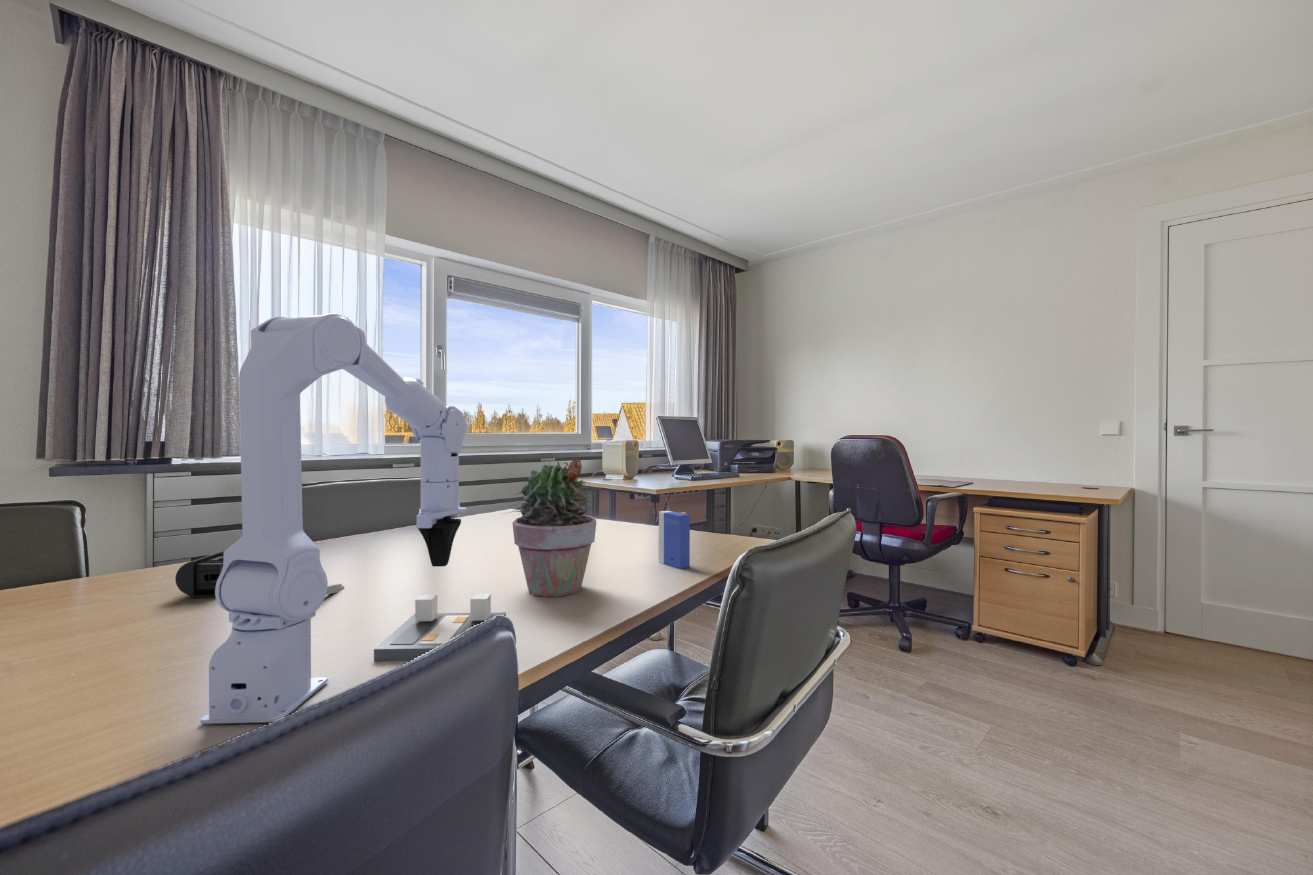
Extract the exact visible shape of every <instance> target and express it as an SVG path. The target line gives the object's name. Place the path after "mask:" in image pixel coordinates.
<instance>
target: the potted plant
mask: <svg viewBox="0 0 1313 875" xmlns="http://www.w3.org/2000/svg"><path fill="white" fill-rule="evenodd" d="M564 464H565V466H564V467H562V466H561V464H560V462H559V461H557V465H550V464H549V465H547V464H544V465H542V467H541V470H539V471H537V470H534V469H532V470H531V472H530V476H529V477H528V479H527V484H526V485H525V486H523V488H522V489H521V490H520V491H519V492H518V493H515V494H513V495H512V497H514V496H516V495H519V494H521V495H523V496H524V497H523V499H524V500H521V501H519V502H518V503H515V504H513V505H512V506H510V508H511V507H514V506H517V505H518V504H520V503H521V504H520V507H518V508H516V509H514V510H512V511H510V512H507V514H509V513H510V514H511V513H512V512H513V513H514V512H515V513H519V514H518V515H517V516H519V515H520V514H521V516H519V517H517V518H515V519H514V520H513V521H512V522H511V523H512V531H513V541H514V545H516V546H517V548H518V552H519V555H520V559H521V563H522V568H523V573H524V577H525V578H524V579H525V582H526V585H527V589H528V592H529V594H532V595H533V596H535V597H536V596H537V597H542V598H556V597H557V598H558V597H559V598H560V597H565V596H571V595H574V594H576V593H579V592H580V590H581V589H582V587H583V586H582V585H583V582H584V578H585V573H586V569H587V564H588V561H589V560H588V559H589V555H590V551H591V547H592V544H593V543H595V539H596V532H597V531H596V529H597V518H595V517H594V516H591V515H588V513H587V512H588V510H591V509H592V508H591V507H590V508H589V506H588V505H587V507H586V506H583V505H584V504H585V503H586V502H589V503H591V501H589V500H587V499H590V496H587V495H586V491H584V490H585V489H591V487H589V486H586V481H584V480H583V479H581V480H578V479H579V478H580V476H579V475H580V474H581V473H582V461H581V460H580V459H577V458H575V459H573V460H572V461H571V462H568V461H565V462H563V463H562V465H564ZM594 489H595V490H597V489H598V488H596V487H594ZM602 490H605V489H602ZM592 499H594V498H592ZM502 514H504V515H505V512H504V513H502Z"/></svg>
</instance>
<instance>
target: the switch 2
mask: <svg viewBox="0 0 1313 875" xmlns="http://www.w3.org/2000/svg"><path fill="white" fill-rule="evenodd" d="M491 599H492V594H491V593H485V594H484V593H475V594H474V595H472V596H471V598H470V600H469V602H470V603H469V604H470V606H469V607H470V612H469V613H470V621H477V620H487V619H488V618H489V617H490V615H491V613H492V603H491V602H492V600H491Z"/></svg>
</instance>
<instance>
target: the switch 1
mask: <svg viewBox="0 0 1313 875" xmlns="http://www.w3.org/2000/svg"><path fill="white" fill-rule="evenodd" d="M414 600H415V602H414V608H415V610H414V614H415V621H432V620H434V619H435V618H436V617H437V613H438V594H420V595H419V596H418V597H417V598H416V599H414Z"/></svg>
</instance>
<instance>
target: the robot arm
mask: <svg viewBox="0 0 1313 875" xmlns="http://www.w3.org/2000/svg"><path fill="white" fill-rule="evenodd" d="M340 370H344V371H345V372H346V373H349V375H352V376H353V377H355V378H356V379H358V381H361V382H362V383H363V384H365V385H367V386H368V387H369V388H372V389H373V390H375V391H376V392H378V393H379V394H380V395H382V396H384V404H385V406H386V408H387V410H389V411H391V413H393V414H394V415H395V416H397V417H399V418H400V419H402V420H403V421H404V422H405V423H407V425H408V426H409V427H410V428H411V432H412V435H413V436H414V438H415V439H416V440H419V441H420V508H419V509H418V510H419V512H418V514H417V515H416V528H417V529H418V531H419V533H420V534H421V536H422V538H423V540H424V542H425V545H426V548H427V552H428V555H429V560H430V564H431V566H432V567H434V568H435V567H446V566H448V564H449V562H450V558H451V553H452V549H453V543H454V540H455V537H456V534H457V532H458V530H459V528H460V526H461V523H462V518H451V517H452V516H453V515H460V514H465V513H466V512H467V507H466V506H465V507H464V506H463V507H462V506H461V502H460V495H459V494H460V492H459V491H460V490H459V489H460V485H459V484H460V483H459V482H460V480H459V479H460V467H459V466H460V452H462V449H463V440H464V437H465V436H466V434H467V429H468V423H466V418H465V415H464V413H463V412H462V411H461V410H460V409H458V408H457V407H456V406H454V405H453V406H451V405H446V404H445V403H444V402H443V401H442V399H441V398H440V397H439V396H436V395H434V394H433V393H432V392H431V391H430V390H428V388H426V387H425V386H424V382H423V381H422V380H420V378H413V377H402V376H400V375H399V374H398V372H396V370H394V369H393V368H392V367H391V366H390V365H389V364H388V363H387V362H386V361H385V360H384V359H383V357H381V356H380V355H379V354H378V353H377V351H375V350H374V349H373V348H372V347H371V346H370V345H369V344H368V343H367V339H366V333H365V331H364V330H363V329H362V328H360V327H358V326H356V325H355V324H354V323H353V321H352V320H351V319H350V318H349V317H347V316H346V315H343V314H341V313H336V312H333V313H332V312H331V313H326V314H320V315H317V314H316V315H306V316H305V315H303V316H293V317H292V316H291V317H289V316H288V317H286V316H275V317H271V318H269V319H266V320H265V321H264V322H262V323H260V324H259V325H257V326H256V327H254V328H253V329H251V330H250V349H249V350H248V353H247V354H246V357H245V360H244V361H243V363H242V365H241V367H240V370H239V374H238V390H239V392H238V395H239V396H238V397H239V399H238V400H239V401H238V402H239V436H240V437H239V438H240V440H239V441H240V442H239V445H240V478H241V480H240V481H241V483H240V485H241V487H240V488H241V523H242V535H241V537H240V538H238V539H237V541H235V542H233V544H231V545H230V546H229V547H228V548H226V549H225V552H224V562H223V568H222V571H221V574H220V576H219V578H218V580H217V583H216V587H215V596H216V598H215V600H216V602H217V604H218V605H219V608H221V609H222V610H223V611H225V612H228V623H231V625H232V628H231V632H230V635H229V636H228V638H227V639H226V641H225V642H223V643H222V644H221V645H220V646H218V647H217V649H216V650H215V651H214V652H213V654H212V655H211V658H210V660H209V664H208V713H207V714H205V715H204V716H202V717H201V718H200V724H202V725H208V724H209V725H211V724H214V725H215V724H216V725H218V724H254V723H258V724H260V723H261V724H263V723H273V722H272V721H276V720H278V719H280V718H282V717H285V716H286V715H287V716H288V715H289V714H291V713H292V712H294V711H295V710H296V709H297V708H298V707H299V706H300V705H302V704H303V703H304V702H305V701H306V700H307V699H309V698H310V697H311V696H312V695H313V694H314V693H316V692H317V691H319V689H320V688H322V687H323V686H324V685H325V684H326V683H328V682H329V681H328V677H325V676H323V677H322V676H321V677H315V676H314V677H312V618H315V617H316V612H317V611H318V609H319V608H320V607H321V606H322V604H323V602H324V600H325V597H326V596H327V595H326V592H327V586H328V585H329V584H328V577H327V573H326V572H325V569H324V568H323V565H322V563H321V555H320V554H321V552H320V548H319V546H317V544H316V543H315V542H314V541H313V540H312V539H311V538H310V537H309V536H308V535H307V533H305V531H304V526H303V525H304V524H303V519H304V518H303V483H302V482H303V479H302V478H303V477H302V475H303V474H302V470H303V469H302V430H301V425H302V423H301V394H302V392H303V391H305V390H306V389H307V388H308V387H309V386H311V385H312V384H313V383H315V382H316V381H317V380H318V379H319V378H321V377H323V376H325V375H329V374H331V373H334V372H336V371H340ZM287 716H286V717H287ZM286 717H285V718H286Z"/></svg>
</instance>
